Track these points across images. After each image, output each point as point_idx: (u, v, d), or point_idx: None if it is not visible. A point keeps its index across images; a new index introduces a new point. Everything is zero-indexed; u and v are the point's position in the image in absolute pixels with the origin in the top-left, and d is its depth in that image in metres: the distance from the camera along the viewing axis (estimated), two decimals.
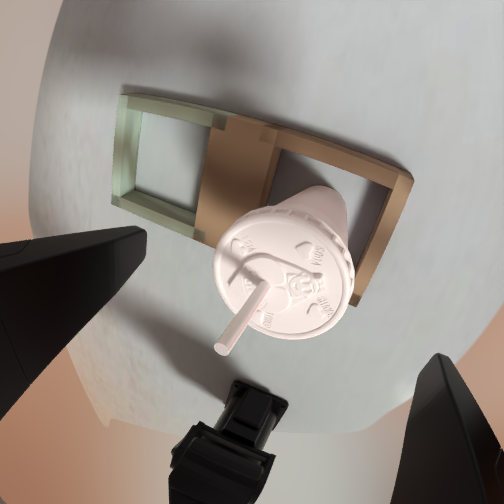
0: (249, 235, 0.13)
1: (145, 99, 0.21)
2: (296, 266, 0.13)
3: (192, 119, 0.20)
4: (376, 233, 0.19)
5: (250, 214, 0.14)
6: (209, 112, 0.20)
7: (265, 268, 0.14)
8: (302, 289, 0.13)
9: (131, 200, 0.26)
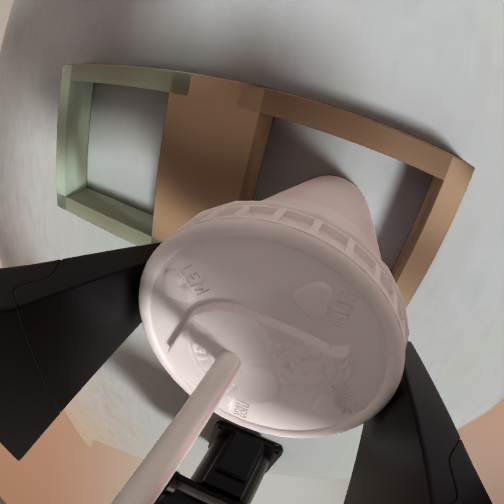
0: (195, 262, 0.06)
1: (90, 65, 0.14)
2: (292, 330, 0.06)
3: (145, 84, 0.13)
4: (415, 248, 0.12)
5: (199, 219, 0.07)
6: (167, 71, 0.13)
7: (229, 330, 0.06)
8: (304, 373, 0.06)
9: (78, 200, 0.18)
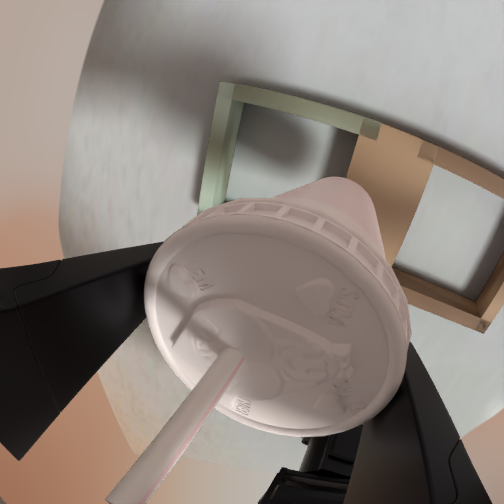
0: (199, 258, 0.06)
1: (262, 90, 0.17)
2: (295, 327, 0.06)
3: (333, 122, 0.16)
4: None
5: (205, 215, 0.07)
6: (357, 116, 0.16)
7: (232, 327, 0.07)
8: (306, 370, 0.06)
9: None
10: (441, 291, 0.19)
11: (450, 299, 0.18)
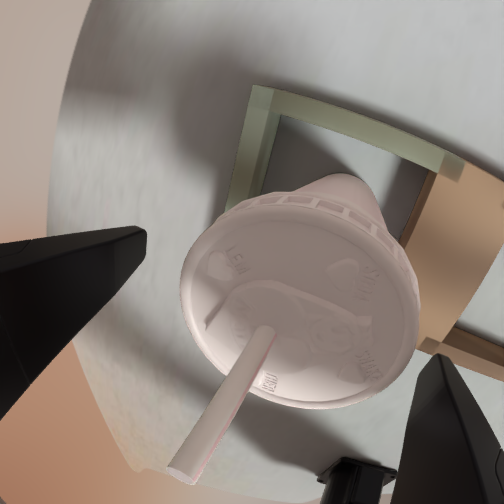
0: (239, 244, 0.07)
1: (313, 101, 0.12)
2: (324, 303, 0.07)
3: (407, 153, 0.12)
4: None
5: (241, 207, 0.08)
6: (437, 148, 0.11)
7: (268, 305, 0.07)
8: (333, 342, 0.07)
9: None
10: (492, 349, 0.15)
11: (501, 357, 0.14)
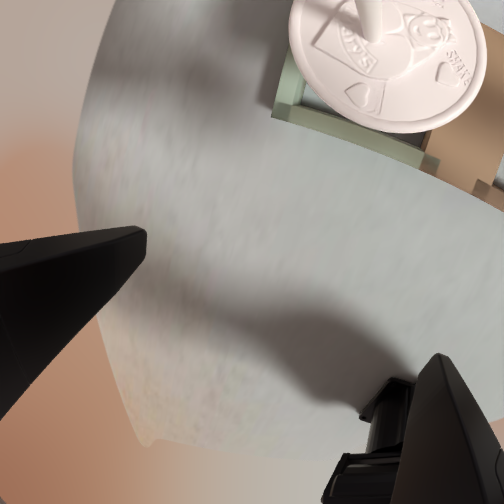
0: None
1: None
2: (413, 7, 0.06)
3: None
4: None
5: None
6: None
7: None
8: (427, 35, 0.07)
9: (313, 111, 0.16)
10: None
11: None
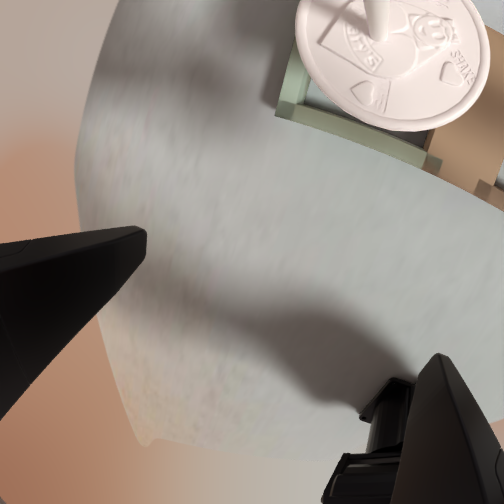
0: None
1: None
2: (418, 7, 0.06)
3: None
4: None
5: None
6: None
7: None
8: (432, 35, 0.07)
9: (316, 110, 0.16)
10: None
11: None
